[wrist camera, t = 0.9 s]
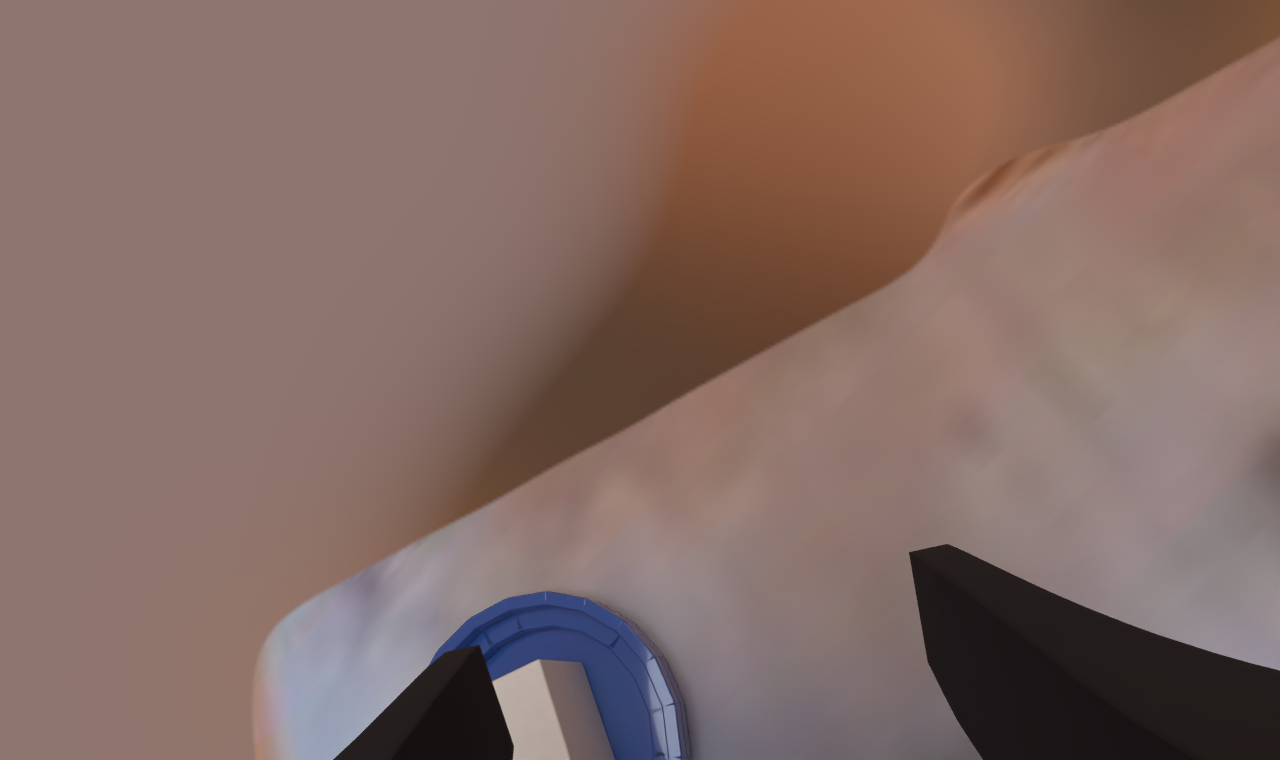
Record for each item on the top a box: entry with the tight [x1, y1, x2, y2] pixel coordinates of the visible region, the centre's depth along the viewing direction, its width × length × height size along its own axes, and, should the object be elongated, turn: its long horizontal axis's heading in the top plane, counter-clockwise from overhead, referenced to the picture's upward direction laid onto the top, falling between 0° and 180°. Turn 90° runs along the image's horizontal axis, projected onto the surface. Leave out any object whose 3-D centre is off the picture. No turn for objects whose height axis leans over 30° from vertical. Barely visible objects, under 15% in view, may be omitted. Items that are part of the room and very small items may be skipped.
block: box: [492, 659, 615, 760], centre depth 24 cm, size 4×4×4 cm
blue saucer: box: [428, 591, 691, 760], centre depth 25 cm, size 11×11×2 cm
